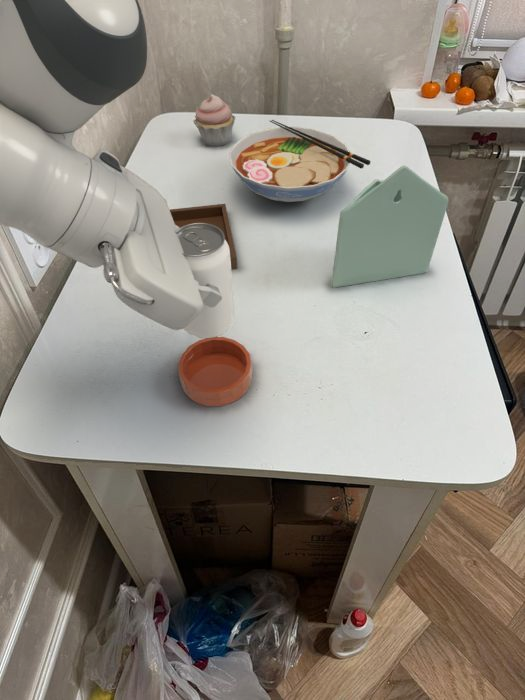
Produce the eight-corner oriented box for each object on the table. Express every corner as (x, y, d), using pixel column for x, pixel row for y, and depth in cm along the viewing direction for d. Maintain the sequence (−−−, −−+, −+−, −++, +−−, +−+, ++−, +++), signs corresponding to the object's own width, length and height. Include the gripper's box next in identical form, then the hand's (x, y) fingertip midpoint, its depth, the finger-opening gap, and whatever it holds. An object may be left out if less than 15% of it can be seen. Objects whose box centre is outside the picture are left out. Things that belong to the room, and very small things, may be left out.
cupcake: (193, 132, 115) (188, 87, 107) (233, 128, 116) (231, 83, 108) (197, 152, 109) (191, 105, 101) (239, 148, 110) (237, 101, 102)
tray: (130, 281, 81) (126, 269, 80) (130, 225, 92) (127, 213, 90) (237, 268, 83) (236, 256, 81) (226, 215, 93) (225, 203, 91)
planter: (408, 243, 87) (436, 132, 72) (427, 272, 82) (462, 159, 67) (317, 257, 85) (327, 145, 70) (332, 288, 80) (345, 174, 65)
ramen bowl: (204, 185, 100) (200, 146, 94) (288, 147, 110) (289, 110, 104) (289, 243, 88) (291, 201, 81) (375, 194, 97) (383, 154, 91)
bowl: (183, 412, 65) (180, 398, 62) (179, 355, 71) (176, 341, 69) (256, 401, 66) (256, 387, 63) (246, 346, 72) (245, 332, 70)
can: (202, 349, 57) (189, 267, 48) (170, 319, 61) (153, 236, 52) (246, 322, 60) (241, 240, 51) (213, 295, 63) (204, 213, 54)
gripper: (130, 260, 38) (254, 320, 48) (101, 140, 51) (204, 206, 60) (86, 314, 41) (213, 362, 50) (70, 187, 54) (173, 244, 63)
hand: (207, 276), depth 55 cm, fingers closed on can, 6 cm apart
